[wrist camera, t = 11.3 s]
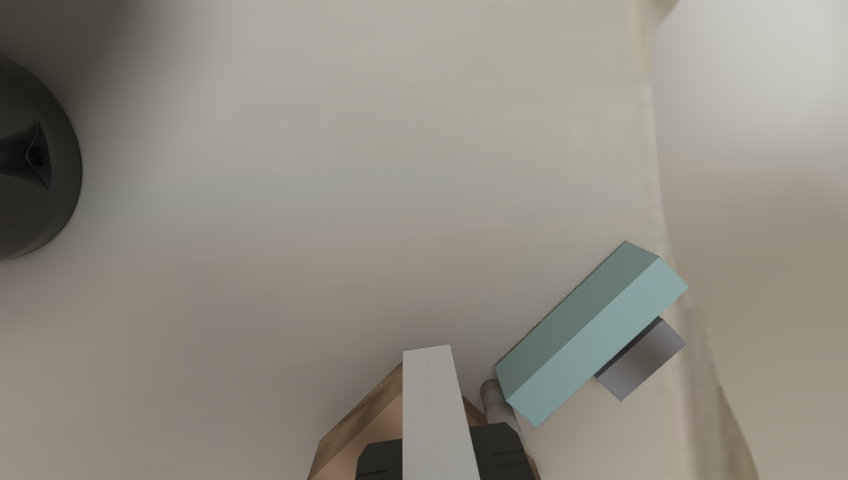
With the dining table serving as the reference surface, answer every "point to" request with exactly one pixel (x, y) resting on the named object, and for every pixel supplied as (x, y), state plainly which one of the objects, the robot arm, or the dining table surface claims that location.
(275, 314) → the dining table surface
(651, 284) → the teal block
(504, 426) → the robot arm
